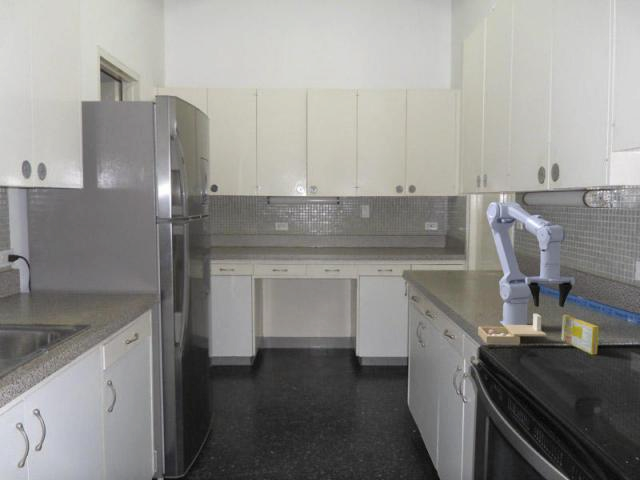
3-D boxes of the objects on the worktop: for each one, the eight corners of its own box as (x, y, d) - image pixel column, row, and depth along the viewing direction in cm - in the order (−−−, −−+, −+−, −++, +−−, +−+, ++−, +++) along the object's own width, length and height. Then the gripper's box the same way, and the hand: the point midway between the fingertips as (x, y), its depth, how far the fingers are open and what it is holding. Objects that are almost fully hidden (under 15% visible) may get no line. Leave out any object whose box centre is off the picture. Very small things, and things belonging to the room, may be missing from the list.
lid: (504, 326, 179) (504, 310, 178) (534, 326, 178) (534, 311, 178) (513, 335, 167) (514, 319, 167) (546, 336, 167) (546, 319, 166)
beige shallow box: (478, 334, 180) (478, 326, 180) (509, 334, 179) (509, 327, 179) (486, 344, 168) (486, 336, 168) (519, 345, 167) (520, 336, 167)
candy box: (598, 355, 157) (599, 326, 156) (591, 355, 157) (592, 326, 156) (567, 339, 173) (567, 314, 172) (560, 340, 173) (561, 314, 172)
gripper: (530, 265, 169) (529, 308, 170) (579, 265, 168) (577, 309, 169) (523, 262, 176) (522, 304, 177) (570, 262, 175) (568, 304, 176)
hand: (548, 306), depth 174 cm, fingers open, 7 cm apart
